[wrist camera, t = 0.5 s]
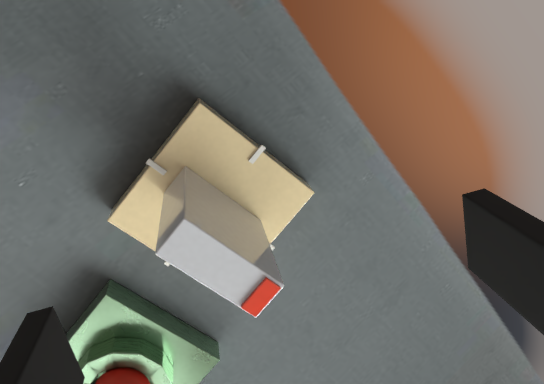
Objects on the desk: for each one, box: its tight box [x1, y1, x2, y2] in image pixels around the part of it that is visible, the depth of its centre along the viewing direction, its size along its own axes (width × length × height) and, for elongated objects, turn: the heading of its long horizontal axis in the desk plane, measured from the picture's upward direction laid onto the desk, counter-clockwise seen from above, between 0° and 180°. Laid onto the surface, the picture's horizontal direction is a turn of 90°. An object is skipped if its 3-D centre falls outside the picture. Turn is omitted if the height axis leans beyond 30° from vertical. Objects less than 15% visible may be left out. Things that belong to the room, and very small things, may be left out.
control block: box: [66, 279, 220, 384], centre depth 36 cm, size 10×10×4 cm
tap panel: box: [107, 99, 314, 266], centre depth 34 cm, size 11×11×2 cm
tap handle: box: [155, 166, 284, 317], centre depth 29 cm, size 6×2×9 cm, turn 50°
